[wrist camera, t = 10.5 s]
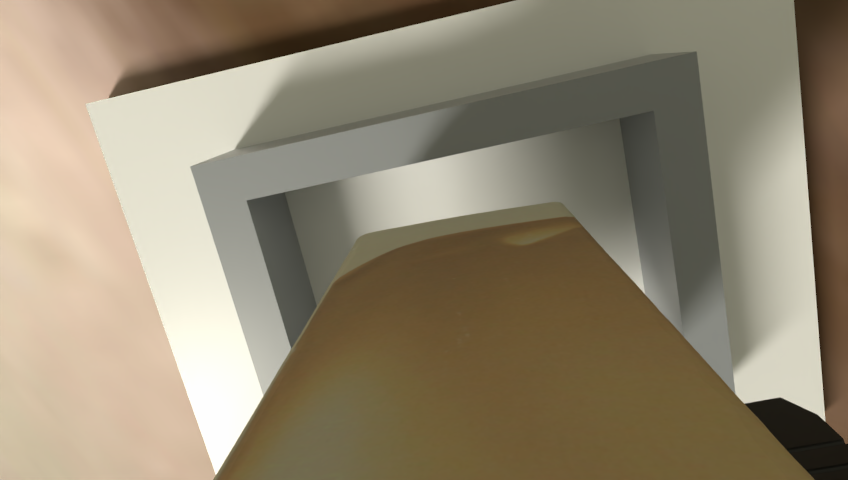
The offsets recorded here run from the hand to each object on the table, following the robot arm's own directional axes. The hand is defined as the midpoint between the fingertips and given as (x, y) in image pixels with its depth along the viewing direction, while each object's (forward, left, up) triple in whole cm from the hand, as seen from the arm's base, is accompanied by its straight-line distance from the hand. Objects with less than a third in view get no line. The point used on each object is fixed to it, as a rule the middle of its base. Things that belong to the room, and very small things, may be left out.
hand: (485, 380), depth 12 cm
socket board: (0, 0, -7) cm, 7 cm away
